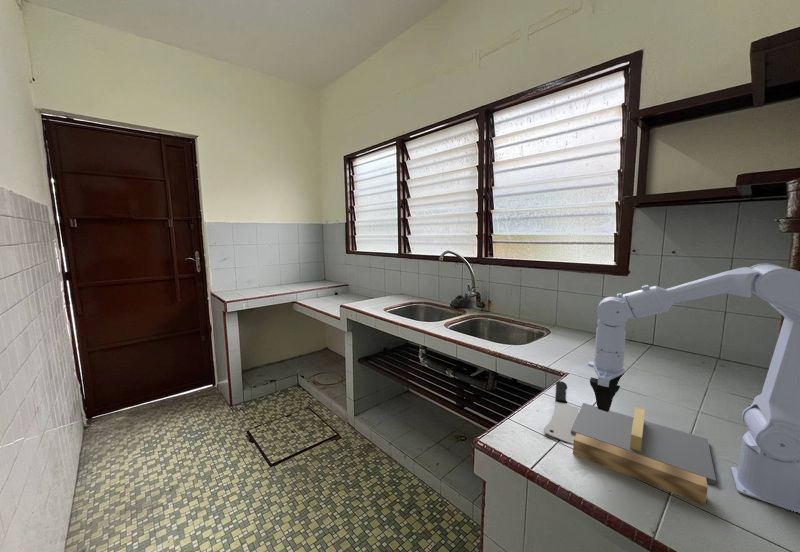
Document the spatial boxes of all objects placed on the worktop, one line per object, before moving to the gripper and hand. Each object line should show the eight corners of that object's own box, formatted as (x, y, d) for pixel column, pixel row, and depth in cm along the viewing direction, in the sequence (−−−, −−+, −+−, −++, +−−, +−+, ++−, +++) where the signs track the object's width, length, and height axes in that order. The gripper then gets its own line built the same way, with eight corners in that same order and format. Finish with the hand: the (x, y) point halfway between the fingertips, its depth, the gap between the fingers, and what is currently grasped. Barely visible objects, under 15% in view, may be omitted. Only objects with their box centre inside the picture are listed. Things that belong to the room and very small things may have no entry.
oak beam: (703, 496, 60) (705, 477, 60) (705, 506, 58) (707, 487, 58) (575, 448, 74) (576, 432, 74) (572, 455, 72) (573, 439, 72)
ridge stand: (707, 442, 75) (709, 425, 74) (715, 485, 63) (718, 464, 62) (583, 405, 91) (583, 391, 91) (570, 433, 79) (571, 417, 78)
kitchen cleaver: (589, 447, 73) (543, 430, 78) (588, 453, 74) (542, 436, 78) (586, 388, 100) (552, 378, 105) (585, 393, 101) (551, 383, 105)
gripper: (595, 336, 81) (592, 386, 83) (583, 354, 70) (580, 410, 72) (628, 342, 77) (624, 394, 78) (622, 362, 66) (617, 421, 68)
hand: (605, 402), depth 75 cm, fingers open, 7 cm apart
